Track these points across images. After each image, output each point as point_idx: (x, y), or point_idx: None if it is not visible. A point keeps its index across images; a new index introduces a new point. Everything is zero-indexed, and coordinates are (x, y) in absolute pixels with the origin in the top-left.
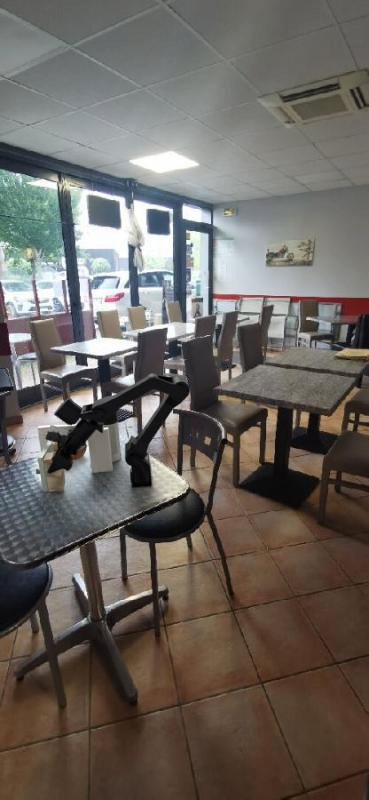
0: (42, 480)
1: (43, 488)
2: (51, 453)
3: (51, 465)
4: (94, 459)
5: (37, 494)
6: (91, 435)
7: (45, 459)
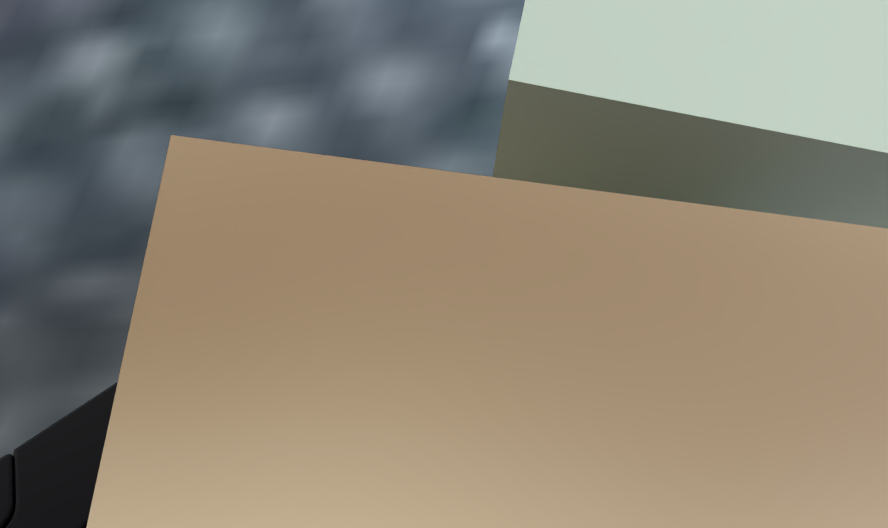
0: None
1: None
2: (786, 477)
3: (17, 461)
4: None
5: (473, 167)
6: None
7: (205, 224)
